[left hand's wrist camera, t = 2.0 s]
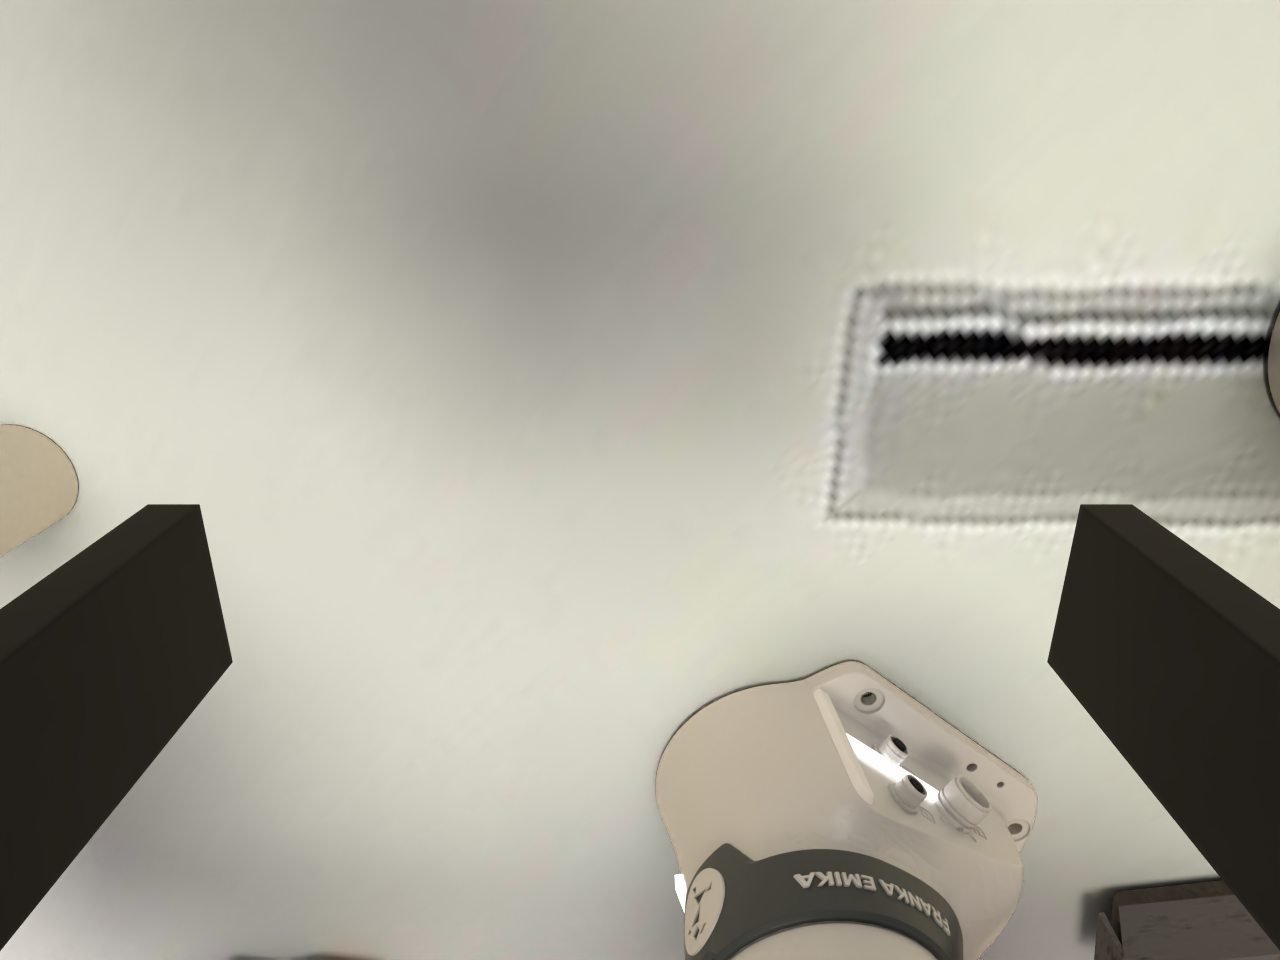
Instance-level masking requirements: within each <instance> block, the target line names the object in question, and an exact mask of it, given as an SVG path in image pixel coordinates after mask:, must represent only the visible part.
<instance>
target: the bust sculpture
mask: <svg viewBox="0 0 1280 960" xmlns="http://www.w3.org/2000/svg"><path fill="white" fill-rule="evenodd" d="M1268 378H1269V385H1270V390H1271V394H1272V397H1273V400H1274V403H1275V405H1276V407H1277V409H1278V411H1279V413H1280V313H1279V315H1278V318H1277V320H1276V323H1275V326H1274V329H1273V333H1272V337H1271V341H1270V347H1269V355H1268Z"/></svg>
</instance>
